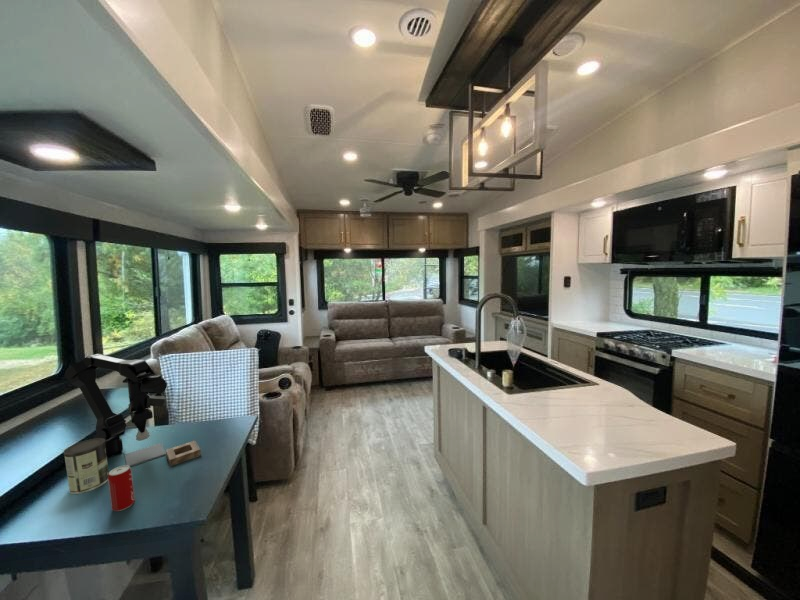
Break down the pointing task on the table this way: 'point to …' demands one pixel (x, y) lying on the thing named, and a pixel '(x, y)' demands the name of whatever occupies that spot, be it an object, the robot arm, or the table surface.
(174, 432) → the table surface
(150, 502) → the table surface
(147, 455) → the grey mat
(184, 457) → the brown wooden frame
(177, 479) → the table surface
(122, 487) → the soda can
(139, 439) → the rook chess piece
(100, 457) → the coffee can
